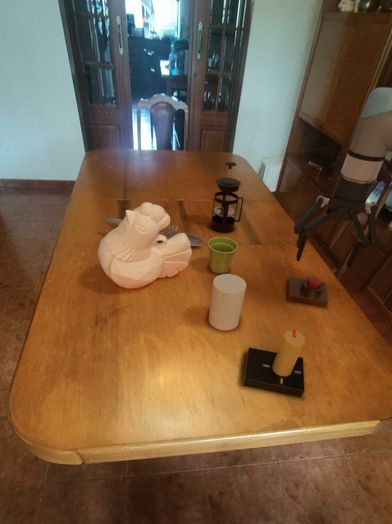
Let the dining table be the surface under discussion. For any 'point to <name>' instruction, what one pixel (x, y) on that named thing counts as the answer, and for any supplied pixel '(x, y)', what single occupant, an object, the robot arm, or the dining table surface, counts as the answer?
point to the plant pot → (221, 253)
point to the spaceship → (192, 238)
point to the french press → (226, 204)
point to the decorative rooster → (143, 248)
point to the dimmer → (272, 374)
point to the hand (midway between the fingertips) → (322, 262)
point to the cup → (226, 301)
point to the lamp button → (314, 282)
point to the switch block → (306, 292)
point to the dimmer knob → (288, 353)
